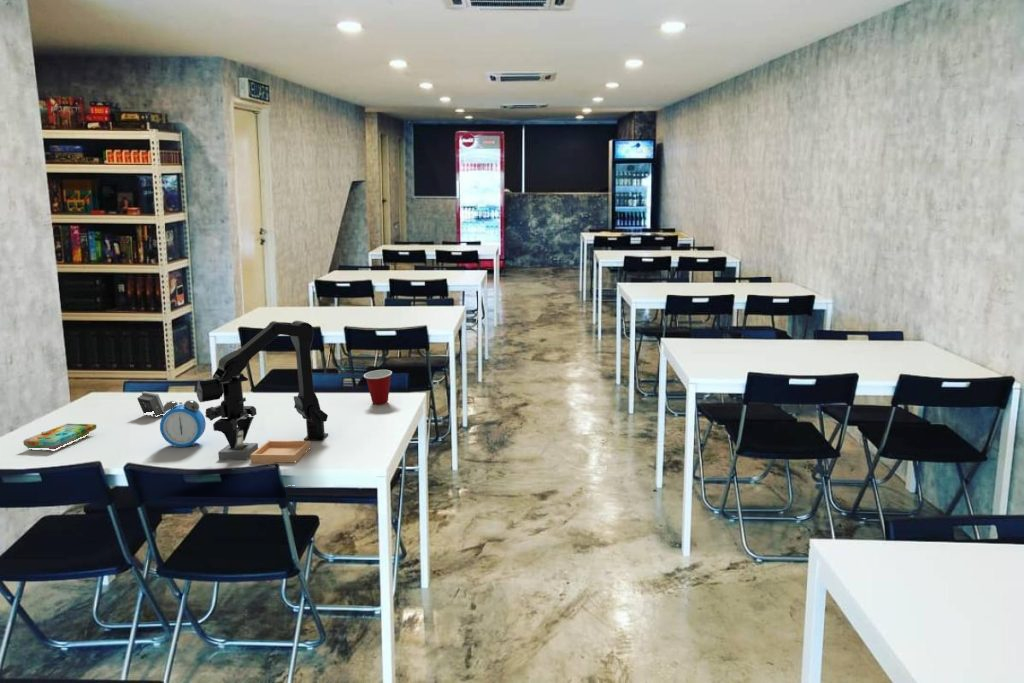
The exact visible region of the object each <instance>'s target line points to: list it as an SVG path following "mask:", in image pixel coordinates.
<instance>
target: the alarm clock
mask: <svg viewBox="0 0 1024 683" xmlns="http://www.w3.org/2000/svg"><path fill="white" fill-rule="evenodd" d="M163 411H164V412H166V414H165V415H164V416H162V417H161V420H160V423H159V424H160V425H159V430H160V431H159V432H160V434H161V436H162V438H163V439H164V440H165V441H166V442H167V443H168V444H170V445H171V448H174V447H177V448H178V447H179V448H183V447H184V448H185V447H189V446H192V447H194V446H195V442H197V440H199V439H200V438H201V437H202V436H203V434H204V432H205V430H206V425H207V423H206V417H205V416H204V414H203V413H202V411H201V410H200V404H199V403H198V402H197V401H196V400H192V399H191V400H189V399H188V400H186V401H185V402H184V403H183V402H176V401H175V400H171V401H166V403H165V404H163Z"/></svg>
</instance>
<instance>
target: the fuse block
mask: <svg viewBox="0 0 1024 683" xmlns="http://www.w3.org/2000/svg"><path fill="white" fill-rule="evenodd" d="M243 443H244V449H243V450H233V448H231V447H230V445H229V444H227V445H226V446H225V447H222V448H221V449H220V450H218V452H217V453H218V460H220V461H223V460H226V461H231V460H232V461H233V460H235V461H237V460H238V461H241V460H243V461H245V460H246V461H247V460H248V459H249V457H250V458H251V456H250V455H251V454H252V453H253V452H255V451H256V450H257V449H258V448H259V444H258V443H257V442H243Z"/></svg>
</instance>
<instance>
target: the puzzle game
mask: <svg viewBox="0 0 1024 683" xmlns="http://www.w3.org/2000/svg"><path fill="white" fill-rule="evenodd" d="M96 429H97V424H96V423H95V424H94V423H93V424H92V423H69V422H68V423H64V424H62V425H59V426H55V427H53V428H51V429H49V430H47V431H41V433H39V434H36V435H32V436H31V437H28V438H26V439H24V440H23V441H22V442H23V445H24V447H26V448H27V449H29V448H49V449H56V448H58V447H60V446H63V445H64V444H67V443H69V442H71V441H74V440H76V439H78V438H80V437H83V436H85V435H87V434H90V432H92V431H94V430H96Z"/></svg>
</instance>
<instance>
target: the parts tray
mask: <svg viewBox="0 0 1024 683" xmlns="http://www.w3.org/2000/svg"><path fill="white" fill-rule="evenodd" d="M310 447H311V440H267V441H266V442H264V444H262V445H261V446H260V447H258V449H257V450H256V451H255V452H253V453H252V454H251V455H250V456H251V457H250V463H252V464H253V463H256V464H258V463H261V464H267V463H268V464H269V463H271V464H273V463H274V462H295V461H297V460H298V459H299V458H300V457H301V456H302V455H303V454H304V453H305V452H306V451H307V450H308V449H309V448H310ZM308 451H309V450H308ZM308 451H307V452H308ZM307 452H306V453H307ZM306 453H305V454H306ZM305 454H304V455H305ZM304 455H303V456H304ZM303 456H302V457H303ZM302 457H301V458H302ZM301 458H300V459H301ZM300 459H299V460H300ZM299 460H298V461H299ZM298 461H297V462H298ZM274 464H275V463H274Z"/></svg>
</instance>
